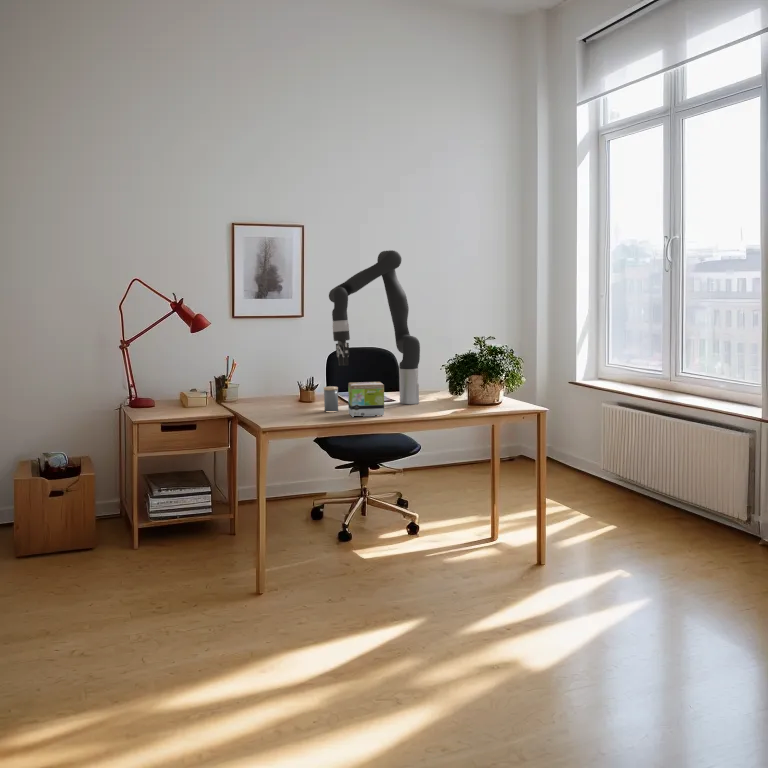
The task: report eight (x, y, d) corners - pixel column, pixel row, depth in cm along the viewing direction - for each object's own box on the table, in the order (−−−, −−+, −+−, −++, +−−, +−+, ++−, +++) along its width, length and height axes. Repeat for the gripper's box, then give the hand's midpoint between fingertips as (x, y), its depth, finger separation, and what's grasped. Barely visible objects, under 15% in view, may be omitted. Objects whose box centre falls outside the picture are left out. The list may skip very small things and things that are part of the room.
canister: (338, 410, 380) (337, 386, 378) (338, 412, 373) (337, 388, 372) (324, 410, 380) (323, 386, 378) (324, 412, 373) (323, 388, 371)
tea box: (351, 418, 359) (351, 385, 357) (348, 414, 369) (347, 382, 367) (384, 416, 362) (384, 383, 360) (380, 412, 372) (379, 380, 370)
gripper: (353, 329, 367) (355, 364, 368) (344, 330, 381) (347, 364, 382) (337, 330, 365) (339, 366, 366) (329, 331, 378) (332, 366, 379)
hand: (343, 365), depth 374 cm, fingers open, 8 cm apart
